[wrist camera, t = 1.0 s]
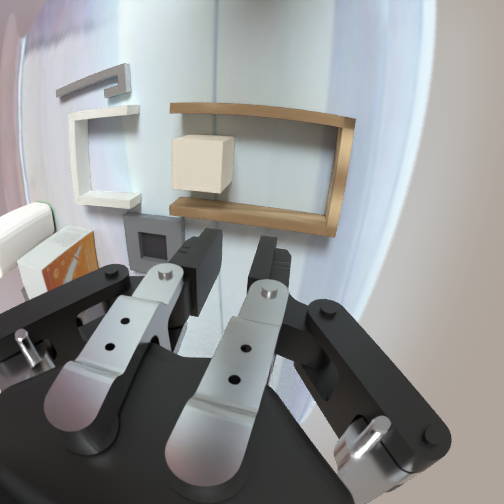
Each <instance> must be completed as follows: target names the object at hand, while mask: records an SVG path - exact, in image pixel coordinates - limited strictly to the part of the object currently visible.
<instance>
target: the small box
mask: <svg viewBox="0 0 504 504" xmlns="http://www.w3.org/2000/svg"><path fill="white" fill-rule="evenodd" d="M17 263H18V267H19V270H20V274H21V277H22V281H23V285H24V287H25V290H26V292H27V295H28V298H29V300H30V299H32V298H35V297H37V296H39V295H41V294H43V293H45V292H47V291H50V290H52V289H54V288H56V287H58V286H61V285H63V284H65V283H67V282H70V281H72V280H74V279H76V278H79V277H81V276H83V275H85V274H88V273H90V272H92V271H95V270H97V269H98V264H97V258H96V252H95V244H94V236H93V230H89V229H84V228H79V227H75V226H70V225H67V226H65V227H64V228H62V229H61V230H59V231H58V232H56V233H55V234H53V235H52V236H50V237H49V238H47V239H46V240H45V241H43V242H42V243H40V244H39V245H38V246H36V247H35V248H33V249H32V250H31V251H29V252H28V253H27V254H25V255H24V256H23V257H21V258H20V259H18V260H17Z"/></svg>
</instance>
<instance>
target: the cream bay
mask: <svg viewBox="0 0 504 504" xmlns="http://www.w3.org/2000/svg"><path fill="white" fill-rule="evenodd" d="M139 112H140V105H128V106H118V107H108V108H100V109H93V110H86V111H79V112H73V113H69V144H70V160H71V173H72V183H73V191H74V199H75V204H82V205H93V206H104V207H114V208H124V209H131V208H133V207H134V206H136V205H137V204H139V203H140V202H141V193H128V192H113V191H97V190H92V187H91V176H90V162H89V142H88V119H91V118H100V117H110V116H122V115H132V114H139Z"/></svg>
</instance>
